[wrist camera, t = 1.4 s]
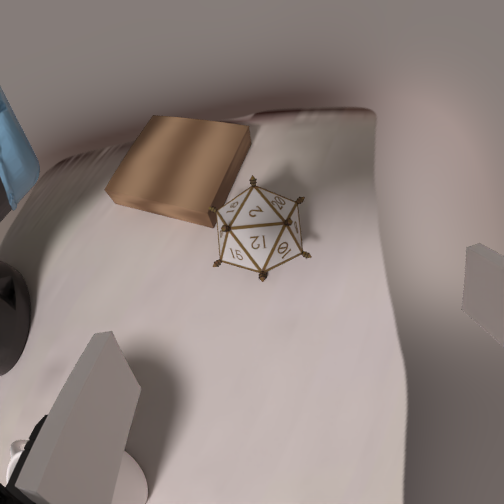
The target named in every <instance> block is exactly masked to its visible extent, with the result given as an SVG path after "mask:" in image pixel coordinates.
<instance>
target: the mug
mask: <svg viewBox="0 0 504 504" xmlns="http://www.w3.org/2000/svg"><path fill="white" fill-rule="evenodd" d="M27 441H29V440H17V441H15V442H13V443H12V444H11V447H10V456H11V460H10V462H9V464H8V467H7V474H6V479H7V484H8V481H9V479H10V477H11V475H12V472H13V470H14V468H15V466H16V464H17V462H18V460H19V457H20V455H21V453H22V451H24V450H21V449H20V447H21V446H22V445H24V444H26V443H27ZM147 497H148V486H147V482H146V478H145V476H144V473H143V471H142V469H141V468H140V466H139V465H138V463H137V462H136V461H135V460H134V459H133V458H132V456H130V455H129V454H128V453H127V452H126V451H124V453H123V457H122V461H121V465H120V469H119V473H118V477H117V481H116V486H115V490H114V494H113V498H112V503H111V504H145V503H146V501H147Z"/></svg>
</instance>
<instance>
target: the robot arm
mask: <svg viewBox="0 0 504 504" xmlns="http://www.w3.org/2000/svg"><path fill="white" fill-rule="evenodd" d="M39 173H40V166H39V162H38V160H37V157H36V155H35V153H34V151H33V149H32V147H31V145H30V143H29V141H28V139H27V137H26V135H25V133H24V131H23V129H22V127H21V125H20V124H19V122H18V120H17V118H16V116H15V114H14V112H13V110H12V108H11V106H10V104H9V102H8V100H7V98H6V96H5V94H4V92H3V90H2V89H1V87H0V222H1V221H2V220H3V219H4V218H5V216H6V215H7V214H8V213H9V212H10V211H11V210H15V209H16V207H17V204H18V202H19V201H20V200H21V199H22V198H23V197H24V196H25V195H26V193H27V192H28V191H29V190H30V189H31V188H32V187H33V186H34V185H35V183H36V182H37V180H38V177H39ZM461 310H462V311H463V312H465V313H466V314H467V315H468V316H469V317H470V318H471V319H473V320H474V321H475V322H476V323H477V324H478V325H479V326H481V327H482V328H483V329H484V330H485V331H486V332H488V334H489V335H491V336H492V337H493V338H494V339H495V340H496V341H497V342H498V343H499V344H500V345H501V346H503V348H504V256H503V255H501V254H499V253H498V252H496V251H494V250H492V249H490V248H488V247H486V246H484V245H482V244H481V243H479V244H476V245H473V246H469V247H467V248H466V266H465V280H464V291H463V301H462V309H461ZM29 322H30V299H29V293H28V289H27V286H26V283H25V281H24V279H23V277H22V276H21V274H20V273H19V272H18V271H17V270H16V269H14V268H13V267H11V266H9V265H8V264H6V263H4V262H2V261H0V376H1V375H4V374H5V373H7V372H8V371H9V370H10V369H11V368H12V367H13V366H14V365H15V363H16V362H17V360H18V358H19V357H20V355H21V353H22V350H23V348H24V345H25V342H26V338H27V334H28V329H29ZM140 392H141V387H140V385H139V383H138V382H137V380H136V378H135V376H134V374H133V372H132V370H131V368H130V367H129V365H128V363H127V361H126V359H125V357H124V355H123V353H122V351H121V349H120V347H119V345H118V343H117V341H116V338H115V336H114V334H113V332H112V331H109V332H103V333H97V334H94V335H93V337H92V338H91V340H90V342H89V343H88V345H87V347H86V348H85V350H84V352H83V353H82V355H81V357H80V359H79V360H78V362H77V364H76V365H75V367H74V369H73V371H72V372H71V374H70V376H69V378H68V379H67V381H66V383H65V385H64V386H63V388H62V390H61V392H60V394H59V396H58V397H57V399H56V401H55V403H54V405H53V407H52V409H51V411H50V412H49V414H48V415H45V416H44V417H43V418H42V419H41V420H40V421H39V423H38V424H37V425H36V426H35V428H34V429H33V431H32V433H31V435H30V437H29V441H27V443H26V445H25V447H24V449H25V450H24V451H22V453H21V455H20V457H19V460H18V462H17V464H16V466H15V468H14V470H13V472H12V475H11V477H10V479H9V481H8V484H7V485H6V487H4V486H3V485H2V484H1V483H0V504H111V503H112V498H113V494H114V490H115V486H116V481H117V477H118V473H119V469H120V465H121V461H122V457H123V453H124V450H125V446H126V442H127V438H128V435H129V431H130V427H131V424H132V420H133V417H134V413H135V410H136V406H137V403H138V399H139V396H140Z"/></svg>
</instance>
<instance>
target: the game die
mask: <svg viewBox="0 0 504 504" xmlns="http://www.w3.org/2000/svg"><path fill="white" fill-rule="evenodd" d="M256 180H257V179H255V178H254V176H253V175H252V177H251V179H250V180H249V181H250V184H251V185H252V186H251V187H250V188H248V189H247V190H245V191H244V192H242V193H241V194H239V195H238V196H237V197H235V198H234V199H232V200H231V201H229V202H228V203H227V204H225V205H224V206H222V207H221V208H220V209H216V207H214V206H211V207H208V208H209V209H210V211H212V212H213V213H214V212H215V213H216V217H217V230H218V242H219V254H220V259H219V260H216V262H214V265H213V267H219V265H221V263H222V262H224V263H227V264H231V265H234V266H237V267H241V268H244V269H248V270H251V271H255V272H258V273H260V274H259V279H260V280H261V281H262V282H263V281H264V280H265V279H266V278H267V274H266V272H267V271H269V270H271V269H273V268H275V267H277V266H279V265H281V264H283V263H285V262H287V261H289V260H291V259H293V258H295V257H297V256H299V255H303V257H306V258H311V255H310V254H309V253H307V252H304V251H303V247H302V238H301V228H300V219H299V210H298V204H301V203H302V202H303V200H304V198H305V197H299V198H298V199H297V201H293V200H290V199H288V198H285V197H283V196H281V195H278V194H276V193H273V192H271V191H268V190H266V189H263V188H261V187H258V186H256V183H257V182H256Z"/></svg>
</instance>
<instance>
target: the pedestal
mask: <svg viewBox="0 0 504 504" xmlns="http://www.w3.org/2000/svg"><path fill="white" fill-rule="evenodd" d="M250 146H251V138H250V131H249V126H245V125H238V124H231V123H224V122H216V121H208V120H199V119H190V118H180V117H168V116H155V115H153V116H152V118H151V119H150V121H149V122H148V123H147V125H146V126H145V127H144V129H143V130H142V132H141V133H140V135H139V136H138V138H137V139H136V141H135V142H134V143H133V145H132V146H131V148H130V150H129V151H128V153H127V154H126V156H125V157H124V159H123V160H122V162H121V163H120V165H119V167H118V168H117V170H116V171H115V173H114V175H113V176H112V178H111V180H110V181H109V183H108V185H107V186H106V188H105V191H106V192H107V194H108V195H109V196H110V197H111V199H112V200H113V201H114V202H115V204H119V205H123V206H127V207H131V208H135V209H139V210H143V211H147V212H151V213H155V214H159V215H163V216H167V217H171V218H175V219H179V220H183V221H187V222H191V223H195V224H199V225H203V226H206V227H210V228H214V226H215V224H216V222H217V217H216V213H215V212H214V213H213V212H212V211H210V209H209V208H208V207H211V206H214V207H216V209H220V208H221V207H222V206H224V203H225V201H226V199H227V196H228V194H229V192H230V190H231V187H232V185H233V183H234V181H235V178H236V176H237V174H238V172H239V170H240V167H241V165H242V163H243V161H244V159H245V156H246V154H247V152H248V150H249V148H250Z"/></svg>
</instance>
